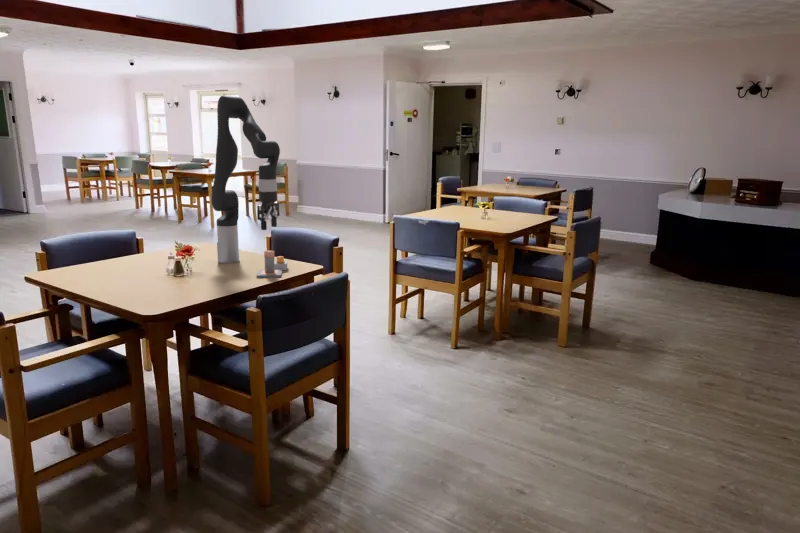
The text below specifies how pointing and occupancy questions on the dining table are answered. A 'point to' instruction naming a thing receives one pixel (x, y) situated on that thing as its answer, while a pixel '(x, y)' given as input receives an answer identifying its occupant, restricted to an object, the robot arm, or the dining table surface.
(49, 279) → the dining table surface
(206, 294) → the dining table surface
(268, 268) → the grey upright block
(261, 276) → the picture board
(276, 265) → the button housing
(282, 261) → the button
